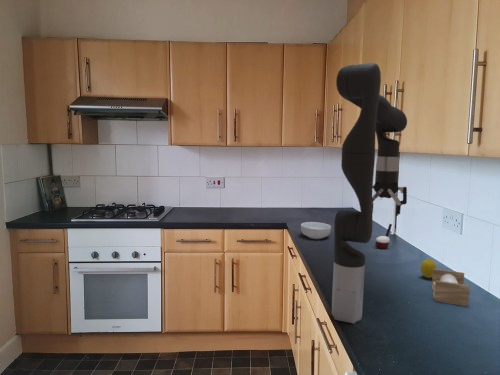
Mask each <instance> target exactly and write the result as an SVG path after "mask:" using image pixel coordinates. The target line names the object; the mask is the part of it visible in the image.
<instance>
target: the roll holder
mask: <svg viewBox="0 0 500 375" xmlns="http://www.w3.org/2000/svg"><path fill="white" fill-rule="evenodd" d="M445 274H451V275H453V276H454V277H455V278H456V279H457V282H458V284H457V283H450V282H444V281H440V278H441V276H443V275H445ZM431 278H432V279H431V281H432V282H431V290H432V295H433V296H432V297H433V300H434V302H439V303H445V304H450V305H456V306H463V307H468V306H469V300H470V299H469V297H470V288H471V286H470V284H465V283H464V280H465V272H461V271H460V272H459V271H453V270H448V269H447V270H446V269H439V268H436V269H433V277H431Z"/></svg>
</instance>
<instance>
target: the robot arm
mask: <svg viewBox="0 0 500 375" xmlns="http://www.w3.org/2000/svg"><path fill="white" fill-rule="evenodd" d="M381 77H382V76H381V69H380V66H379V65H378V64H377V63H374V62H371V63H369V62H368V63H360V64H359V63H357V64H351V65H346V66H343V67H341V68H340V69H339V71H338V73H337V75H336V79H335V81H336V82H335V83H336V84H335V85H336V90H337V92H338V94H339V95H340V96H341V97H342V98H343V99H345V100H346V101H348V102H349V103H351V104H352V105H355V106H357V107H358V108H360V109H361V110H360V113H359V116H358V117H357V119H356V122H355V123H354V125H353V126H352V128H351V130H350V131H349V132H348V134H347V135H346V137H345V139H344V140H343V143H342V147H341V162H340V163H341V166H340V167H341V170H342V173H343V175H344V177H345V178H346V180H347V182H348V184H349V185H350V186H351V188H352V190H353V192H354V193H355V195H356V198H357V199H358V203H359V208H360V211H357V210H345V209H340V210H338V211H337V212H336V213H335V217H334V222H333V236H334V238H333V240H334V242H333V244H334V246H333V269H332V270H333V272H332V273H333V275H332V276H333V277H332V291H331V292H332V293H331V316H332V317H333V320H335V321H339V322H344V323H350V324H356V323H357V322H359V321H361V320H362V318H363V308H364V307H363V305H364V304H363V302H364V286H365V269H366V268H365V267H366V255H365V254H364V253H363V252H362V251H360V250H358V249H356V248H355V247H353V246H351V245H350V244H349V243H348V242H352V243H360V244H367V243H369V242H370V241H371V238H372V235H373V234H372V233H373V213H374V201H375V200H377V198H378V197H379V198H381V199H383V198H386V199H391V198H392V199H393V201H394V202H395V203H396V206H395V207H396V208H395V209H396V211H395V216H396V217H398V216H399V215H401V207H402V205H406V204H407V200H408V197H407V196H408V192H407V191H408V190H407V186H399V184H398V182H399V169H400V167H399V166H400V160H399V157H400V142H399V141H398V140H396V139H393V138H389V137H388V136H387V133H401V132H403V131H404V130H405V129H406V128H407V125H408V119H407V116H406V113H405V112H404V111H403V110H401V109H399V108H398V107H396V106H392V104H391V103H390V101H389V100H388V99H387V98H386V97H384V95H381V94H380V92H381V86H382V85H381V81H382V80H381ZM376 141H377V157H376ZM375 159H376V163H375ZM374 173H375V174H374ZM374 175H375V176H374ZM374 178H375V179H374ZM373 190H374V191H375V194H373ZM398 191H400V193H401V194H402V200H400V199H399V197H398V196H397V194H396V193H397V192H398Z"/></svg>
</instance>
